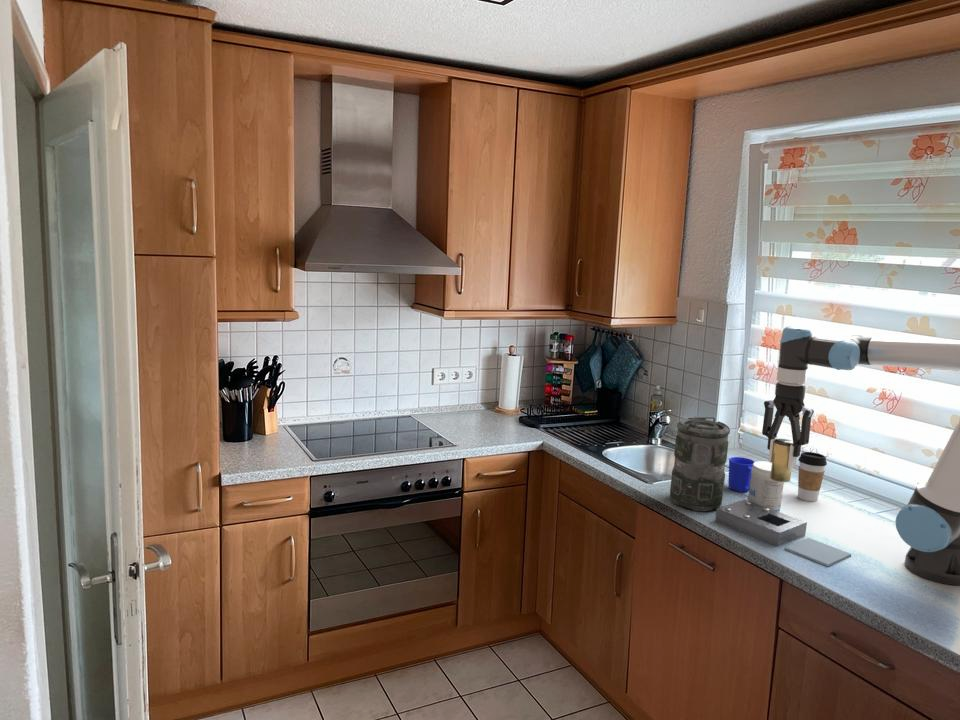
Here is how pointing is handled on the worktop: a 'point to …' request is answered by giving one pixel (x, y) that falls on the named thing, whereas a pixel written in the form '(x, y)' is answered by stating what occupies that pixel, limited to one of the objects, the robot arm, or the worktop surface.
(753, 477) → the supplement tub
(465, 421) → the worktop surface
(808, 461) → the coffee cup
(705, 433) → the canister
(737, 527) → the housing
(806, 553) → the mat
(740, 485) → the mug
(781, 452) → the cylinder
